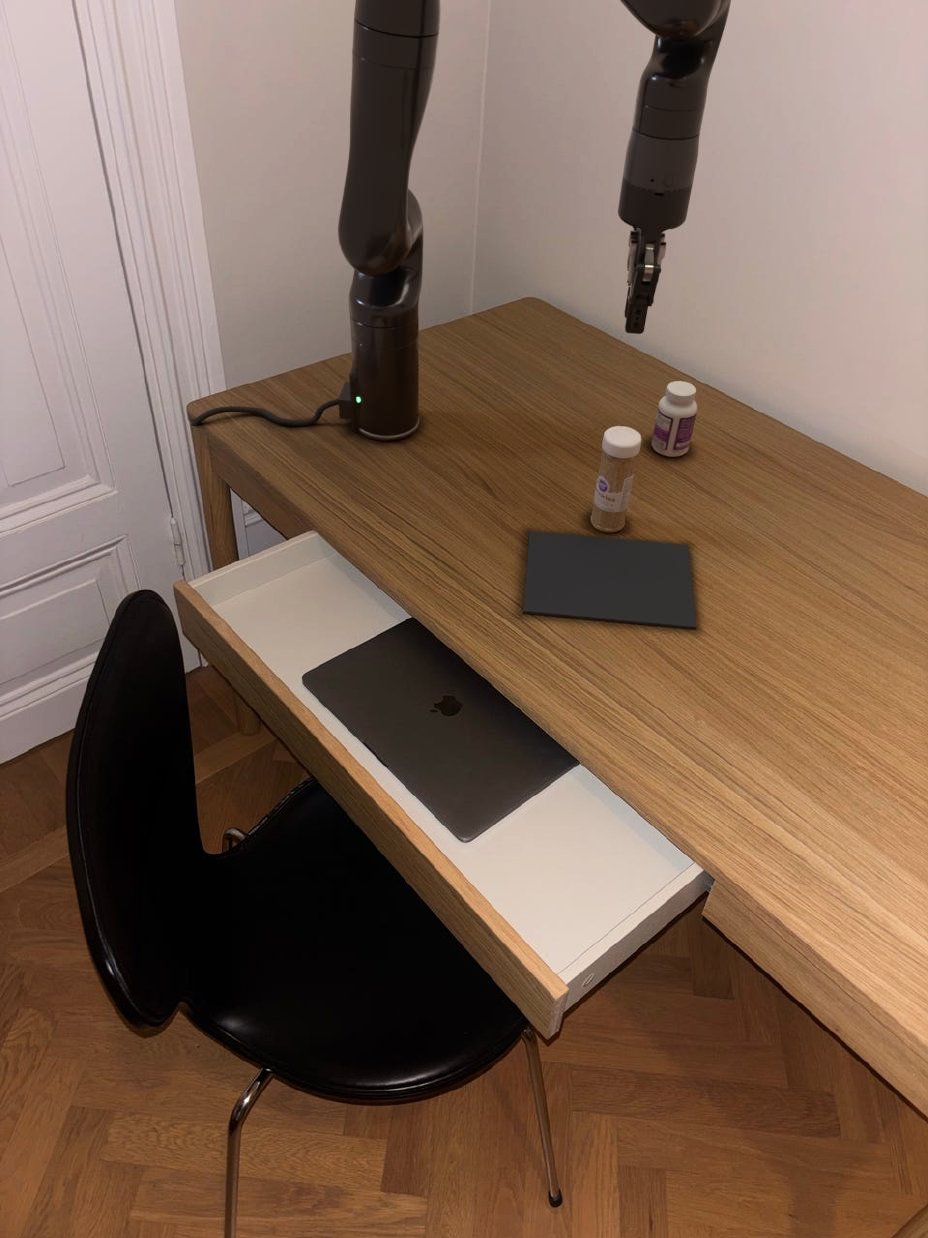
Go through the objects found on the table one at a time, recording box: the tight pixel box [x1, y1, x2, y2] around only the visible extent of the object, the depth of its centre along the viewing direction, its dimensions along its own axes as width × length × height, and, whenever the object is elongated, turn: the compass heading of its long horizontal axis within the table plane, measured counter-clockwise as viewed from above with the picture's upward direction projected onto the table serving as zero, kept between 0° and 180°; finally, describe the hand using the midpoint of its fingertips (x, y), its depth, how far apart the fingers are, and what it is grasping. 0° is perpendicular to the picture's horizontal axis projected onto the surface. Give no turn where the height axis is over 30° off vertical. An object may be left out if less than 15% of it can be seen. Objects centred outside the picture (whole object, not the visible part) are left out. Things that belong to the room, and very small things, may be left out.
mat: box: [522, 530, 697, 630], centre depth 115 cm, size 20×15×1 cm
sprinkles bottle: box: [590, 425, 642, 533], centre depth 118 cm, size 5×5×14 cm
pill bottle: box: [651, 380, 698, 458], centre depth 133 cm, size 5×5×10 cm
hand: (633, 324), depth 113 cm, fingers open, 3 cm apart
